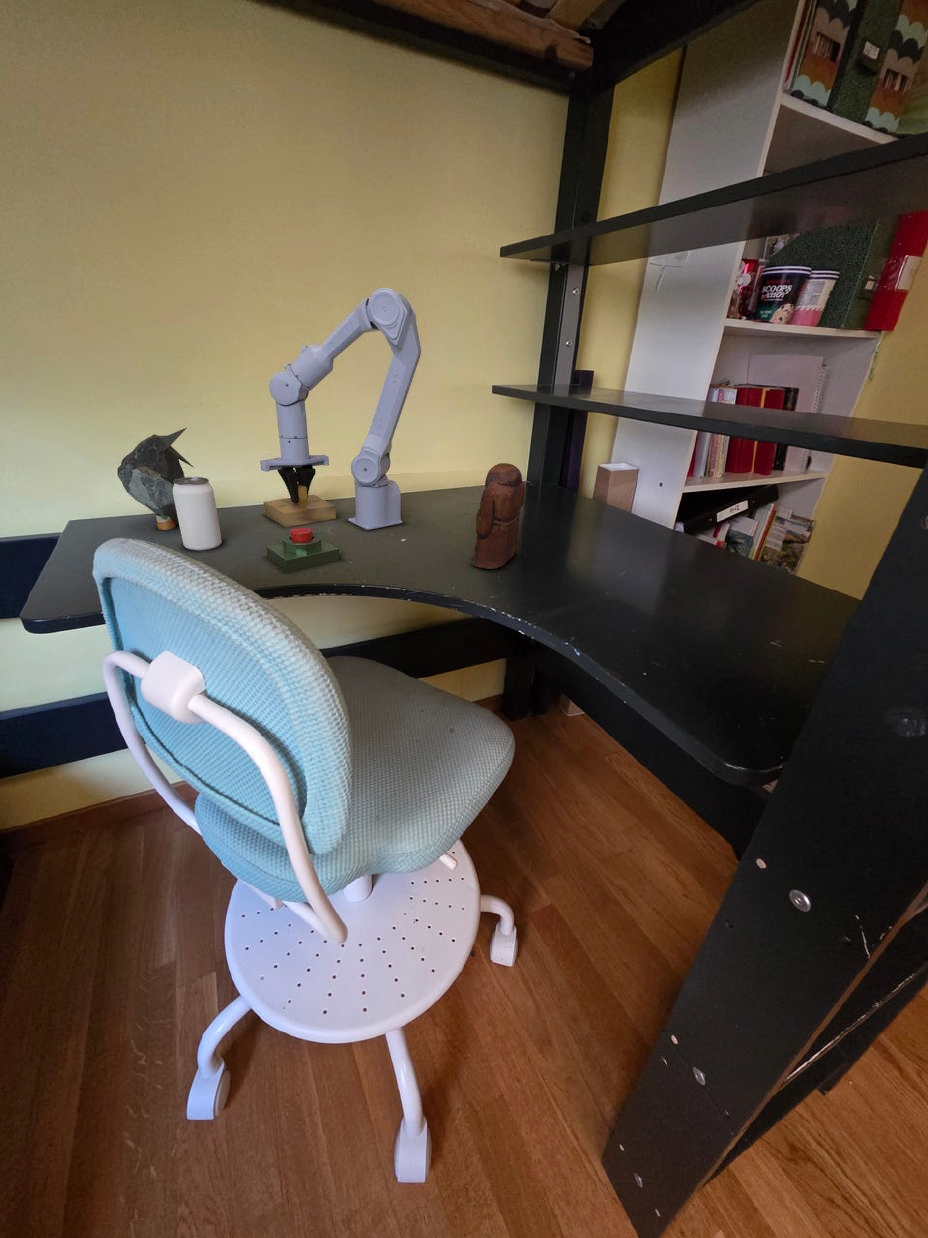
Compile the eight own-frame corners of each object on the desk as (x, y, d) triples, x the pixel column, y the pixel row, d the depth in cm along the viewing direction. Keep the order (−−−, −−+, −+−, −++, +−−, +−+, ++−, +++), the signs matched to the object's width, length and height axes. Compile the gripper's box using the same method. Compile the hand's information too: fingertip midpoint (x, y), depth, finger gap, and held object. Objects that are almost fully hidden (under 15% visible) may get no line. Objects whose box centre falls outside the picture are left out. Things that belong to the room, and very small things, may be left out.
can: (207, 553, 92) (195, 486, 86) (175, 548, 93) (161, 482, 87) (229, 541, 98) (219, 478, 92) (199, 537, 99) (187, 474, 93)
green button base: (318, 547, 98) (316, 526, 96) (339, 560, 93) (338, 539, 91) (267, 557, 92) (264, 536, 90) (287, 572, 87) (285, 550, 85)
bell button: (306, 535, 93) (305, 526, 92) (316, 541, 91) (315, 531, 90) (287, 538, 91) (286, 529, 90) (297, 544, 89) (296, 535, 88)
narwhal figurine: (110, 527, 100) (84, 431, 92) (174, 508, 113) (156, 422, 105) (166, 540, 96) (144, 440, 88) (226, 519, 109) (212, 430, 101)
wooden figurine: (490, 547, 104) (498, 456, 95) (519, 554, 101) (531, 461, 93) (466, 566, 94) (473, 467, 86) (498, 574, 92) (509, 472, 83)
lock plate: (314, 507, 121) (313, 493, 119) (336, 518, 114) (335, 504, 113) (265, 514, 113) (263, 500, 112) (285, 527, 107) (283, 512, 106)
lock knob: (307, 505, 111) (306, 485, 109) (302, 506, 110) (300, 486, 108) (297, 499, 114) (295, 480, 112) (291, 500, 114) (289, 481, 112)
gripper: (316, 431, 113) (320, 492, 119) (250, 435, 104) (259, 501, 110) (332, 436, 108) (335, 500, 115) (265, 441, 99) (273, 509, 106)
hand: (299, 501), depth 112 cm, fingers closed, pressing on lock knob
